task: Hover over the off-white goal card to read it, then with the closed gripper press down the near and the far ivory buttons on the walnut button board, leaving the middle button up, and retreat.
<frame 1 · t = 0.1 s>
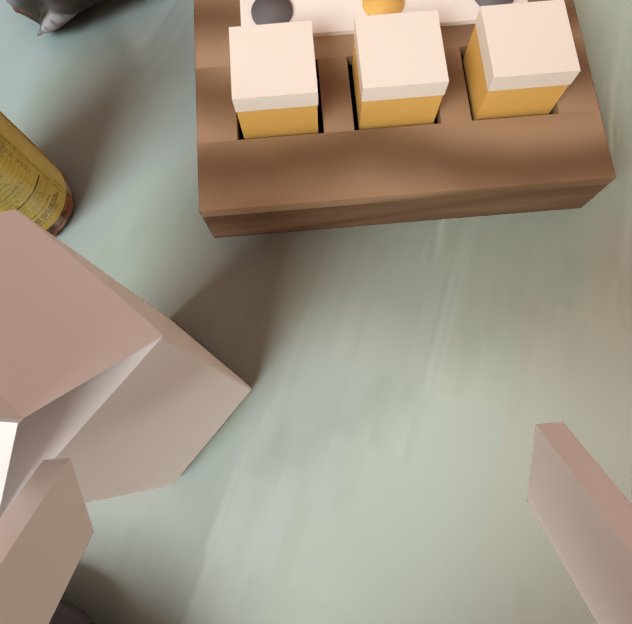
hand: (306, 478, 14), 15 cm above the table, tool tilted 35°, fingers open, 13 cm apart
goal card: (376, 53, 35), resting on button board
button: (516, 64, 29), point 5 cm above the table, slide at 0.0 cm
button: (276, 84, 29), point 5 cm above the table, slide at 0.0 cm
middle button: (395, 74, 29), point 5 cm above the table, slide at 0.0 cm
button board: (384, 115, 34), on the table
milk carton: (172, 398, 30), on the table
sauce bottle: (36, 211, 33), on the table
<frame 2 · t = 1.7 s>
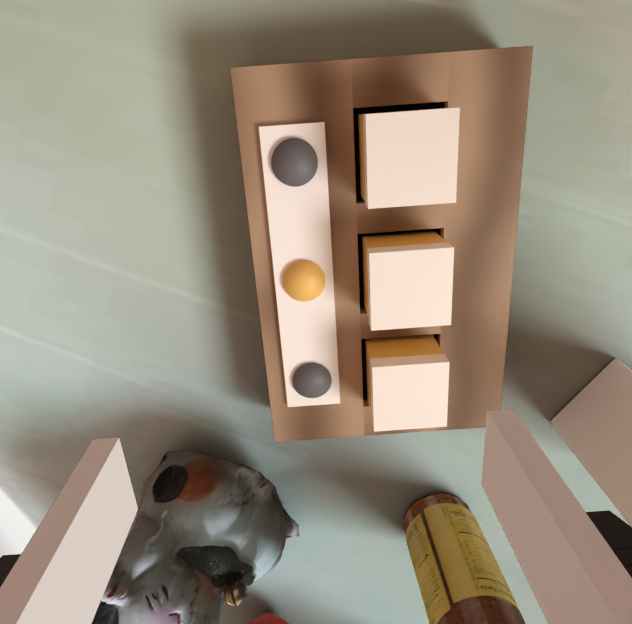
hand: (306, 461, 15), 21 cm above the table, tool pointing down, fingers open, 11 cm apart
goal card: (303, 260, 34), resting on button board
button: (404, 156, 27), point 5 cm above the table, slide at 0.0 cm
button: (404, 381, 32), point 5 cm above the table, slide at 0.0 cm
middle button: (404, 278, 30), point 5 cm above the table, slide at 0.0 cm
button board: (375, 255, 34), on the table
lucky cat figurine: (214, 505, 43), on the table
milk carton: (609, 409, 40), on the table
sauce bottle: (437, 513, 44), on the table
onion: (269, 612, 48), on the table
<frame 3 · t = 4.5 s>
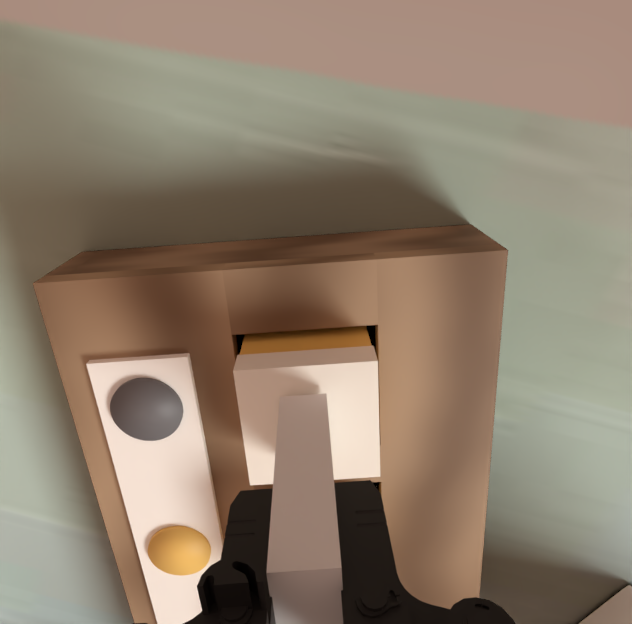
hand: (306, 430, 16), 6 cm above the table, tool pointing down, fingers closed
goal card: (200, 478, 25), resting on button board
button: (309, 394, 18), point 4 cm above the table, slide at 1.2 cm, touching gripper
button board: (299, 472, 25), on the table
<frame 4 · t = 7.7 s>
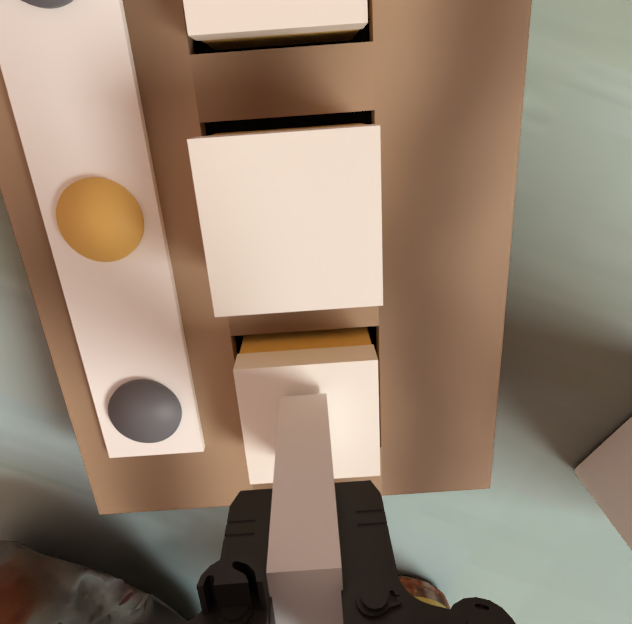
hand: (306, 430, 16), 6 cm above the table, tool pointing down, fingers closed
goal card: (143, 197, 19), resting on button board
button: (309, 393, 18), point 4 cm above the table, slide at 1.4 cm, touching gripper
middle button: (293, 212, 14), point 5 cm above the table, slide at 0.0 cm
button board: (270, 187, 19), on the table
lucky cat figurine: (95, 606, 28), on the table
sauce bottle: (399, 603, 29), on the table
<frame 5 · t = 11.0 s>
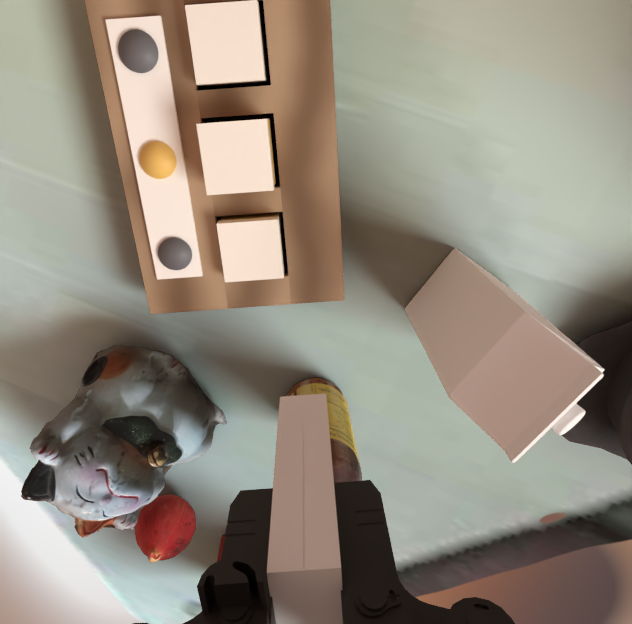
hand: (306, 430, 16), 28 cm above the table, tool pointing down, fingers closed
goal card: (172, 154, 40), resting on button board
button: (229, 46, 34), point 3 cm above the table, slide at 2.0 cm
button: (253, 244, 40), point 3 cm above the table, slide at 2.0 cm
middle button: (239, 155, 35), point 5 cm above the table, slide at 0.0 cm
button board: (234, 150, 40), on the table
lucky cat figurine: (152, 405, 49), on the table
milk carton: (457, 298, 46), on the table
sauce bottle: (316, 399, 49), on the table
onion: (175, 497, 53), on the table
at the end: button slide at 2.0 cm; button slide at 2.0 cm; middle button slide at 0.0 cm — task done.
